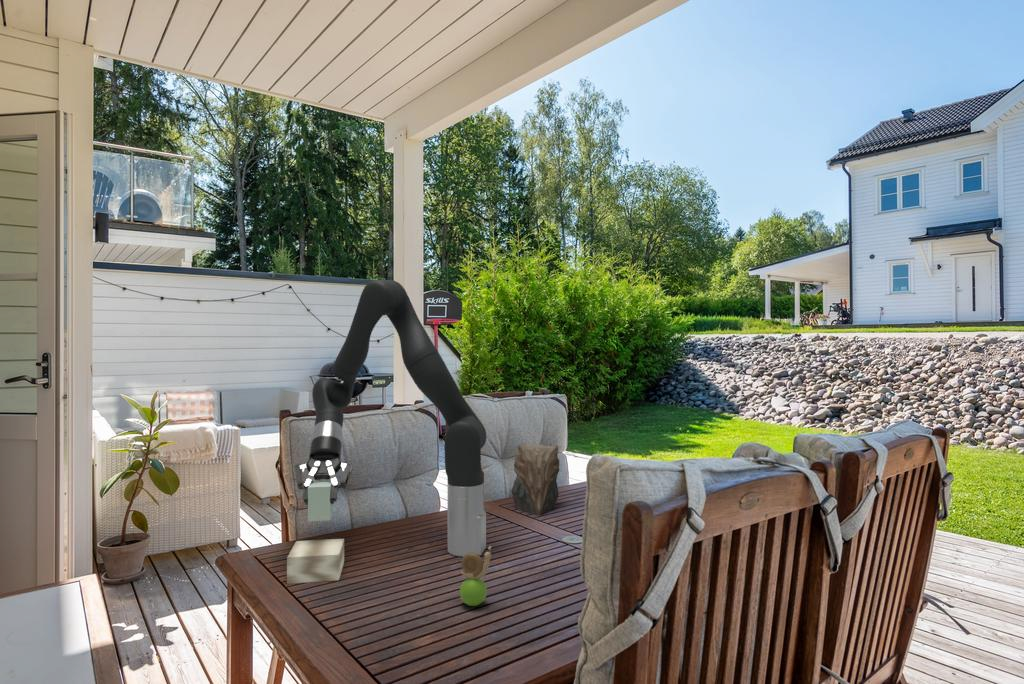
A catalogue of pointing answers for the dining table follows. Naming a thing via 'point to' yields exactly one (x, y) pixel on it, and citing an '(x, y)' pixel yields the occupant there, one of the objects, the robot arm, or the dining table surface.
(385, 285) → the robot arm
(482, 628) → the dining table surface
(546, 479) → the owl
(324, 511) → the sage block
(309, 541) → the birch block
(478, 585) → the snail figurine
